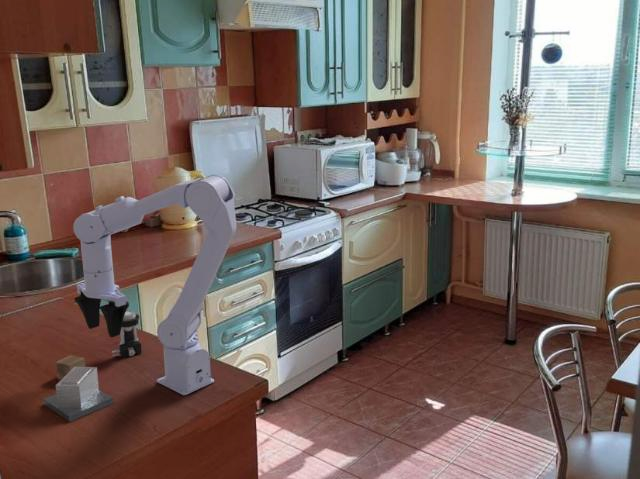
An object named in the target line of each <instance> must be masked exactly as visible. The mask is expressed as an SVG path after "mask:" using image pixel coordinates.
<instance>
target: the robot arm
mask: <svg viewBox="0 0 640 479" xmlns="http://www.w3.org/2000/svg"><path fill="white" fill-rule="evenodd" d="M235 195H236V194H235V192H234V190H233V189H232V186H231V185H230V183H229V181H228V180H227V179H226V178H225V177H223V176H222V175H219V174H211V175H208V176H206V177H205V178H203V177H199V178H195V179H191V180H186V181H183V182H180V183H177V184H174V185H172V186H170V187H167V188H165V189H162V190H160V191H158V192H155V193H153V194H151V195H148V196H145V197H144V198H141V199H136V198H134V197H132V196H127V197H125V196H124V195H122V196H119V197H117V198H115V199H114V201H115V202H112V203H110V204H107V205H104V206H103V205H102V204H101V205H98V206H96V207H95V210H92V211H89V212H85V213H81V215H80V216H77V217H76V219H75V220H74V222H73V226H72V228H73V233H74V235H75V236H76V238H77V239H78V240H79V241H80V248H81V259H82V261H81V262H82V269H83V270H82V271H83V279H84V282H81V283H78V284H76V291H77V294H79V296H75V297H74V302H75V304H77V306H78V307H79V308H80V311H81V312H82V314H83V317H84V319H85V322H86V325H87V328H88V329H90V330H91V329H95V328H98V327H100V320H101V317H100V311H101V313H102V315H103V317H104V320H105V323H106V328H107V333H108V336H109V337H110V338H115V337H117V336H121V335H120V332H121V327H122V322H123V318H124V315H125V312H126V311H128V309H129V306H130V303H129V301H127V297H126V295H125V294H123V293H122V292H120V290H119V289H120V285H118V284H115V276H114V274H115V273H114V265H113V253H112V244H111V243H112V240H111V239H112V238H111V236H112V235H113V234H116V233H120V232H122V231H124V230H127V229H130V228H132V227H135V226H137V225H141V223H142V222H143V219H144V217H145V215H148V214H150V213H153V212H156V211H159V210H163V209H164V208H165V209H166V208H168V207H172V206H174V205H177V206H179V207H181V208H183V209H186V208H188V207H189V209H190V210H191V211H192V212H193V213H194V215H196V216H197V217H198V218H199V220H200V221H202V223H203V224H204V226H205V228H206V230H207V233H206V235H205V238H204V240H203V243H202V244H201V247H200V248H199V251H198V253H197V256H196V258H195V260H194V263H193V264H192V266H191V269H190V271H189V274H188V276H187V278H186V281H185V283H184V285H183V288H182V289H181V291H180V294H179V296H178V298H177V299H176V302H175V303H174V305H173V306H172V308H171V310H170V311H169V313H168V316H166V318H164V319H163V320H162V321H161V322H160V323H159V324H158V326H157V329H156V330H157V331H156V335H157V336H156V337H157V338H158V340H159V342H160V343H161V344H162V348H163V350H162V351H163V362H164V364H163V365H164V376H163V377H160V378H157V379H156V382H157V383H158V384H161V385H162V386H164V387H166V388H167V389H169V390H173V391H174V392H176V393H178V394H180V395H182V396H186V395H189V394H191V393H193V392H195V391H198V390H199V389H202V388H204V387H207V386H209V385H211V384H213V383H214V382H215V379H214V378H213V377H212V374H211V372H212V371H211V358H210V357H211V356H210V354H209V352H208V351H207V350H206V349H205V348H204V347H202V345H201V344H200V340H199V335H198V329H199V327H200V326H201V323H202V311H203V308H204V307H205V306H204V302H205V300H206V297H207V296H208V292H209V290H210V289H211V286H212V284H213V282H214V280H215V277H216V275H217V273H218V271H219V269H220V266H221V264H222V262H223V260H224V258H225V255H226V253H227V251H228V249H229V246H230V245H231V243H232V241H233V238H234V236H235V234H236V232H237V228H238V226H237V217H236V210H235V209H236V208H235ZM102 300H103V301H105V302H108V303H107V304H104V305H101V302H102Z"/></svg>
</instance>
